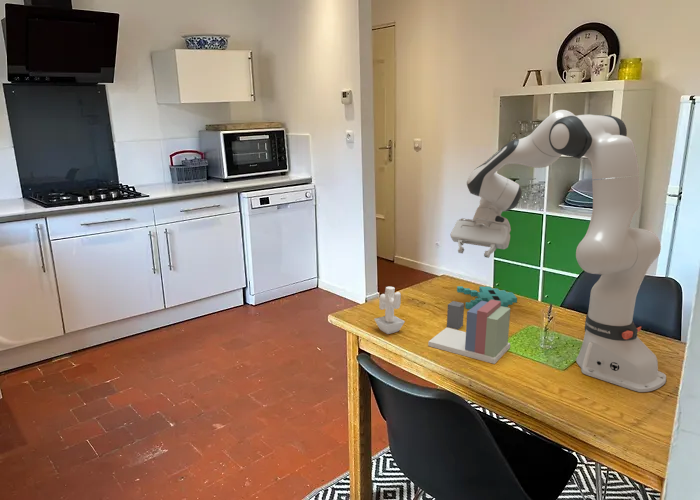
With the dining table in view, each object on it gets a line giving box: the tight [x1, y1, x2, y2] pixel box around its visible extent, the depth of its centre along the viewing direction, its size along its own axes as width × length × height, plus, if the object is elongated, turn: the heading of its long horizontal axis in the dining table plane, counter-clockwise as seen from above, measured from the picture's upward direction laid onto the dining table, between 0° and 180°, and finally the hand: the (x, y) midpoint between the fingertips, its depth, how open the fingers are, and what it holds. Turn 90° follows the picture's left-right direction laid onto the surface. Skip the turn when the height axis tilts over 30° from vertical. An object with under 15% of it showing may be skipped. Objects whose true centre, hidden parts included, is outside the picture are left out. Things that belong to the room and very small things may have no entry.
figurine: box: [373, 286, 406, 335], centre depth 172 cm, size 7×9×15 cm
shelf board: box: [427, 300, 511, 365], centre depth 160 cm, size 21×13×14 cm, turn 55°
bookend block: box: [446, 300, 465, 330], centre depth 176 cm, size 4×4×8 cm
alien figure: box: [456, 285, 518, 310], centre depth 202 cm, size 20×2×20 cm
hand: (473, 254), depth 181 cm, fingers open, 8 cm apart
